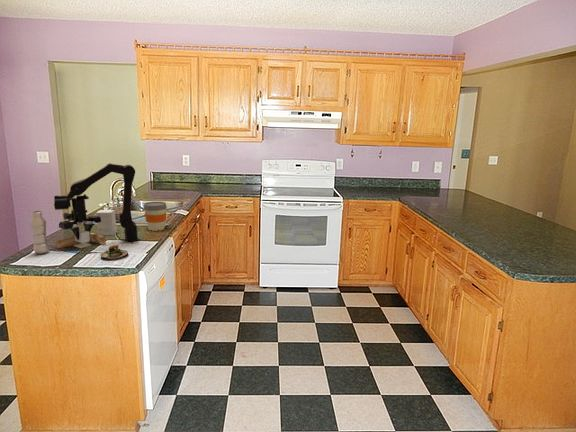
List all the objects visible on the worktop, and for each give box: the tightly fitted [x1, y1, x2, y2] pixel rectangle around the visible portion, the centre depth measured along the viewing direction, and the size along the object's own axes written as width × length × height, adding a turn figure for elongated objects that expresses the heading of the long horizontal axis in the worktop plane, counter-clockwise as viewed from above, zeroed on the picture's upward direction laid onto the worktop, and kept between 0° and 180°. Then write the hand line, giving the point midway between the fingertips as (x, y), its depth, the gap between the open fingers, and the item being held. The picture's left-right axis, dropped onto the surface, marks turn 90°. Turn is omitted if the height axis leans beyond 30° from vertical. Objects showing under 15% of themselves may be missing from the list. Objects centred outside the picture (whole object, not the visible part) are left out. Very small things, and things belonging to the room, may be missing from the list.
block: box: [74, 229, 91, 244], centre depth 198 cm, size 4×6×5 cm, turn 57°
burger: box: [100, 240, 129, 260], centre depth 184 cm, size 12×12×8 cm
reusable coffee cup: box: [143, 201, 167, 232], centre depth 231 cm, size 13×13×15 cm
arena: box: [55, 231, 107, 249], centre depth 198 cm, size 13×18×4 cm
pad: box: [73, 242, 92, 249], centre depth 200 cm, size 6×6×1 cm
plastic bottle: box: [29, 210, 50, 255], centre depth 185 cm, size 6×7×20 cm
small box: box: [95, 209, 118, 236], centre depth 219 cm, size 8×6×13 cm
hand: (82, 238), depth 199 cm, fingers closed on block, 4 cm apart
